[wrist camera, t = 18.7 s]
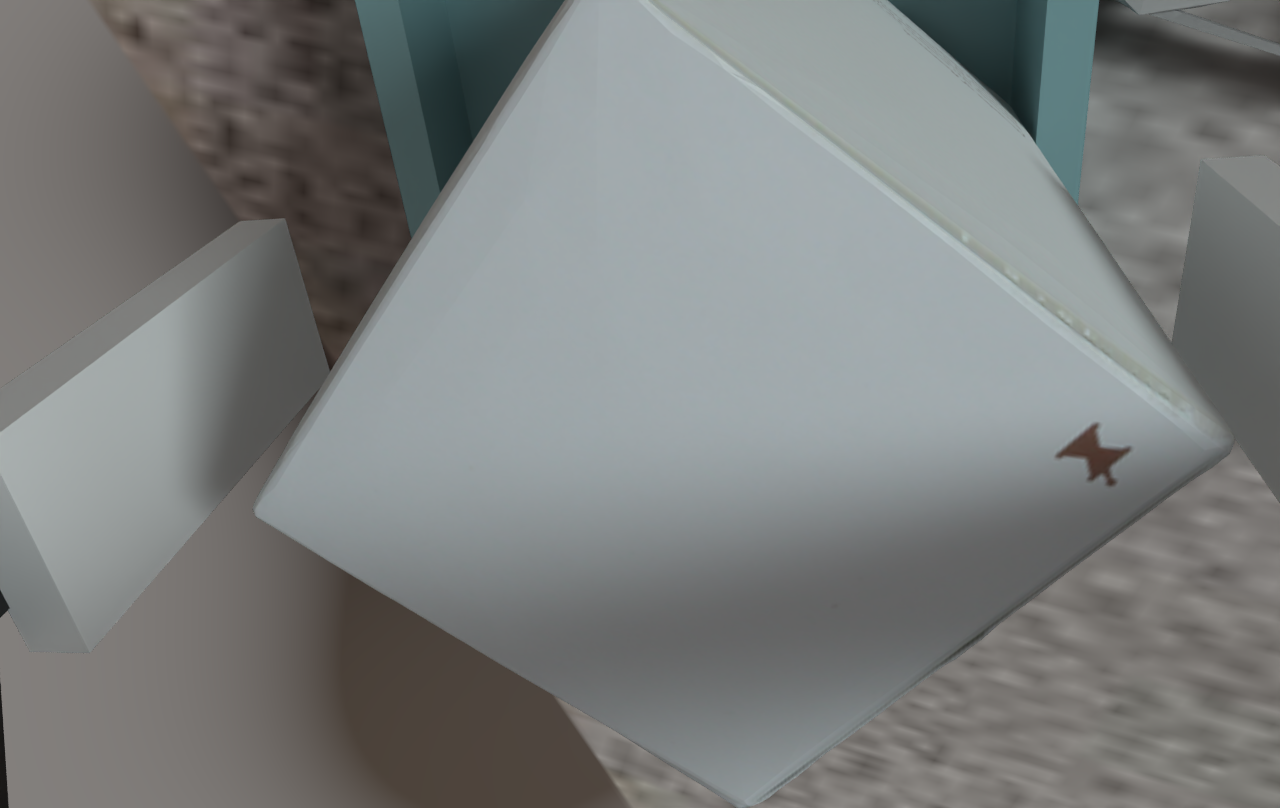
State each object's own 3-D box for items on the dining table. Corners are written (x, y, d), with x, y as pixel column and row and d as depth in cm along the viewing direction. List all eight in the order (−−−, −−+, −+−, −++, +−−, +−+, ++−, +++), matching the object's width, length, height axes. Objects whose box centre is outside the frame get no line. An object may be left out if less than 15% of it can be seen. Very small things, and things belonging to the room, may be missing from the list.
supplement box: (720, -150, 18) (604, -88, 7) (1018, 105, 20) (1280, 463, 9) (508, 165, 22) (222, 516, 11) (774, 361, 23) (752, 839, 12)
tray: (1023, 374, 23) (1051, 447, 21) (498, 391, 25) (463, 459, 23) (1078, -280, 17) (1130, -296, 14) (379, -182, 19) (311, -182, 17)
